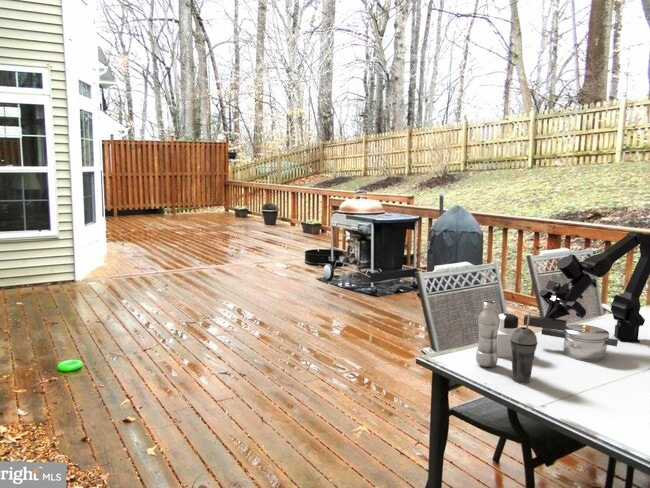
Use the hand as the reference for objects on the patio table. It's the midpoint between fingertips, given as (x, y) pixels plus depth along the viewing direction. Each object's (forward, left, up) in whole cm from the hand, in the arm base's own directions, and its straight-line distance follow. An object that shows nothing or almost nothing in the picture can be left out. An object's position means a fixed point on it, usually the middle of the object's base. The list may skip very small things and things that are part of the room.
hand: (545, 321), depth 175 cm
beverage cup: (+15, +33, -9) cm, 37 cm away
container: (+15, +11, -9) cm, 20 cm away
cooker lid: (-5, +5, -1) cm, 7 cm away
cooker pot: (-9, +7, -9) cm, 14 cm away
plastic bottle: (+23, +23, -9) cm, 33 cm away
